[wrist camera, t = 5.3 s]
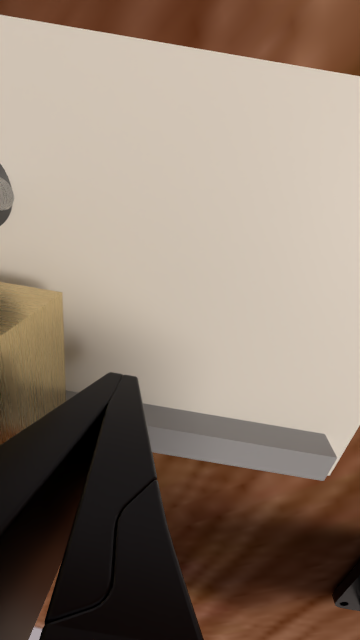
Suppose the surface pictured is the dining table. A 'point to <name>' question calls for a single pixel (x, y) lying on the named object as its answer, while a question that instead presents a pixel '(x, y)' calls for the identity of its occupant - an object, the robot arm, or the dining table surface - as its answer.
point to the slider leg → (29, 350)
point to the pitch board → (192, 235)
